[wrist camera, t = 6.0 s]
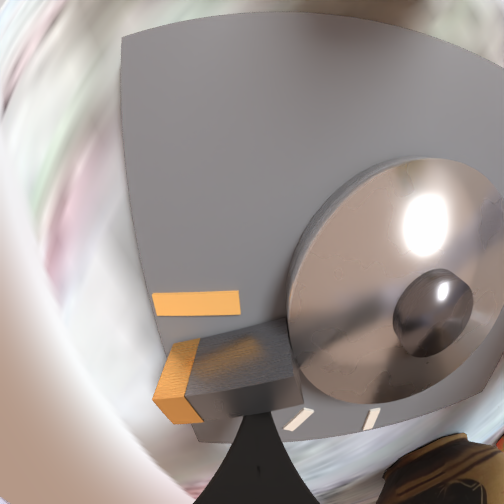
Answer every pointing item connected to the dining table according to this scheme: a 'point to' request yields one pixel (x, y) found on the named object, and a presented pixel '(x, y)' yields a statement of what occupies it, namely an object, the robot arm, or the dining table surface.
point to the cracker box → (500, 444)
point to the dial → (361, 299)
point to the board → (287, 170)
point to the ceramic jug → (446, 474)
